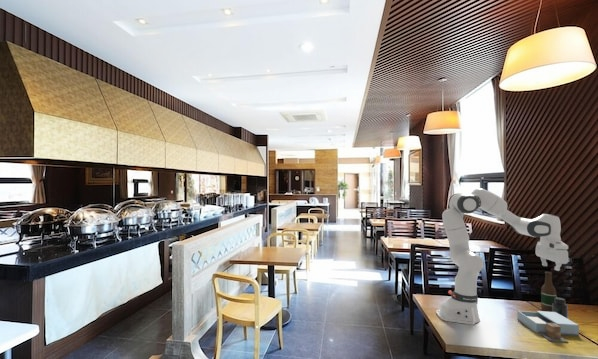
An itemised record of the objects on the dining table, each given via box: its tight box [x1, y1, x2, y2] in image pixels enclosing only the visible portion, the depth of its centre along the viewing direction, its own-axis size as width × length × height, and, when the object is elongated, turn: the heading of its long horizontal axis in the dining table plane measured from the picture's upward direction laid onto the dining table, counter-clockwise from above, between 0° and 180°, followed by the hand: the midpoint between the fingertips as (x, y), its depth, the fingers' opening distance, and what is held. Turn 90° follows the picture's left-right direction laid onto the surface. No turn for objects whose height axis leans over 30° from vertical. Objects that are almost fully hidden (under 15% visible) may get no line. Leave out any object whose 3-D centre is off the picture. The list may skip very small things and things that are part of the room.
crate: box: [516, 310, 580, 337], centre depth 161 cm, size 20×16×6 cm
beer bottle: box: [540, 271, 557, 312], centre depth 183 cm, size 8×8×24 cm
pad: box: [538, 333, 569, 344], centre depth 149 cm, size 8×8×1 cm
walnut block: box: [546, 323, 562, 339], centre depth 149 cm, size 4×4×6 cm
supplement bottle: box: [552, 296, 569, 319], centre depth 171 cm, size 7×7×12 cm
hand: (550, 268), depth 165 cm, fingers open, 8 cm apart
